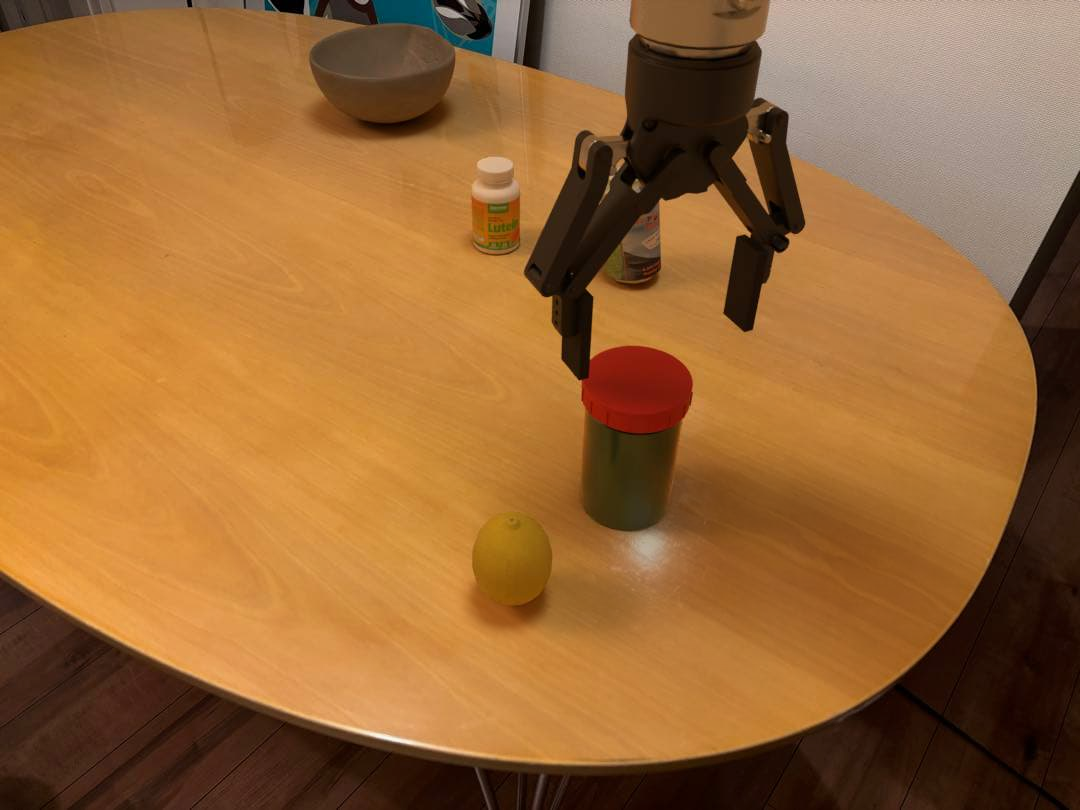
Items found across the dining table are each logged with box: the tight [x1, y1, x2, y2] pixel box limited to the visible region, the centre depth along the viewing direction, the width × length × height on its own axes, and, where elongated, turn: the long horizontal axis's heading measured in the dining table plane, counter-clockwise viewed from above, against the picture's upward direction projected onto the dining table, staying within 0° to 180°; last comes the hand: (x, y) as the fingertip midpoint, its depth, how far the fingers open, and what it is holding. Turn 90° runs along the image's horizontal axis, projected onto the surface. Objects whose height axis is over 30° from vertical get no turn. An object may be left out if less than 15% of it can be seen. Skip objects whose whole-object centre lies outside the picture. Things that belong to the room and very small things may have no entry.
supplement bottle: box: [470, 156, 521, 255], centre depth 98 cm, size 5×5×10 cm
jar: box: [579, 407, 684, 532], centre depth 67 cm, size 7×7×12 cm
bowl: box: [308, 22, 457, 124], centre depth 126 cm, size 20×20×10 cm
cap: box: [580, 345, 694, 433], centre depth 64 cm, size 8×8×2 cm
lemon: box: [471, 511, 553, 606], centre depth 61 cm, size 6×6×8 cm
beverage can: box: [600, 164, 662, 284], centre depth 93 cm, size 6×7×12 cm
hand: (659, 344), depth 63 cm, fingers open, 13 cm apart
